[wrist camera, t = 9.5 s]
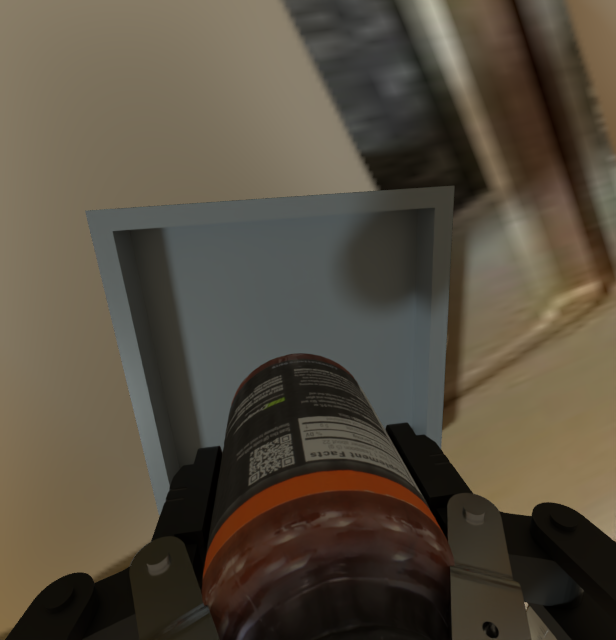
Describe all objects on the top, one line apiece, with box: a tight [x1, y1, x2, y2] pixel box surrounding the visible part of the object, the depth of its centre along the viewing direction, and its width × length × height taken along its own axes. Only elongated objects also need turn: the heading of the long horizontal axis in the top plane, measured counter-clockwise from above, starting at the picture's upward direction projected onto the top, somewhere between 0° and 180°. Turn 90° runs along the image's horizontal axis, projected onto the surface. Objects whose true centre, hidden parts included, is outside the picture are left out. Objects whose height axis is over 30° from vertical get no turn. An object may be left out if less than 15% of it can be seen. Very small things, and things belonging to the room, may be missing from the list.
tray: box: [86, 186, 454, 515], centre depth 22 cm, size 18×18×3 cm
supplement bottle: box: [201, 353, 455, 640], centre depth 11 cm, size 6×6×11 cm
